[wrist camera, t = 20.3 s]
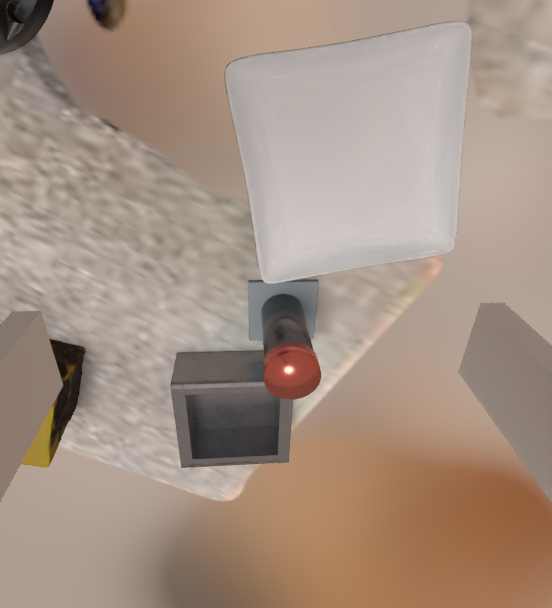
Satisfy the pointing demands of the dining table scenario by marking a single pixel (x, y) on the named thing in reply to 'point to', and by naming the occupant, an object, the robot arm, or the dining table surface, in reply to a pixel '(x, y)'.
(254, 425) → the shallow square tray
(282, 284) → the mat
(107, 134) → the dining table surface
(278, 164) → the salad plate
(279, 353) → the jar with red lid
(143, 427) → the dining table surface
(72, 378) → the candle
